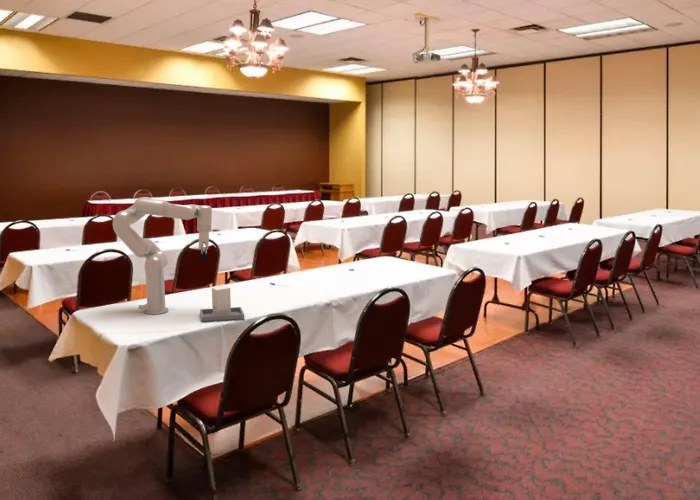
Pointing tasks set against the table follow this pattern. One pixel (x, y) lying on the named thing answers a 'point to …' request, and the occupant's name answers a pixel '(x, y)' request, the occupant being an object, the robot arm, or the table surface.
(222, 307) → the skincare box
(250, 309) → the table surface
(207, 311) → the tray
